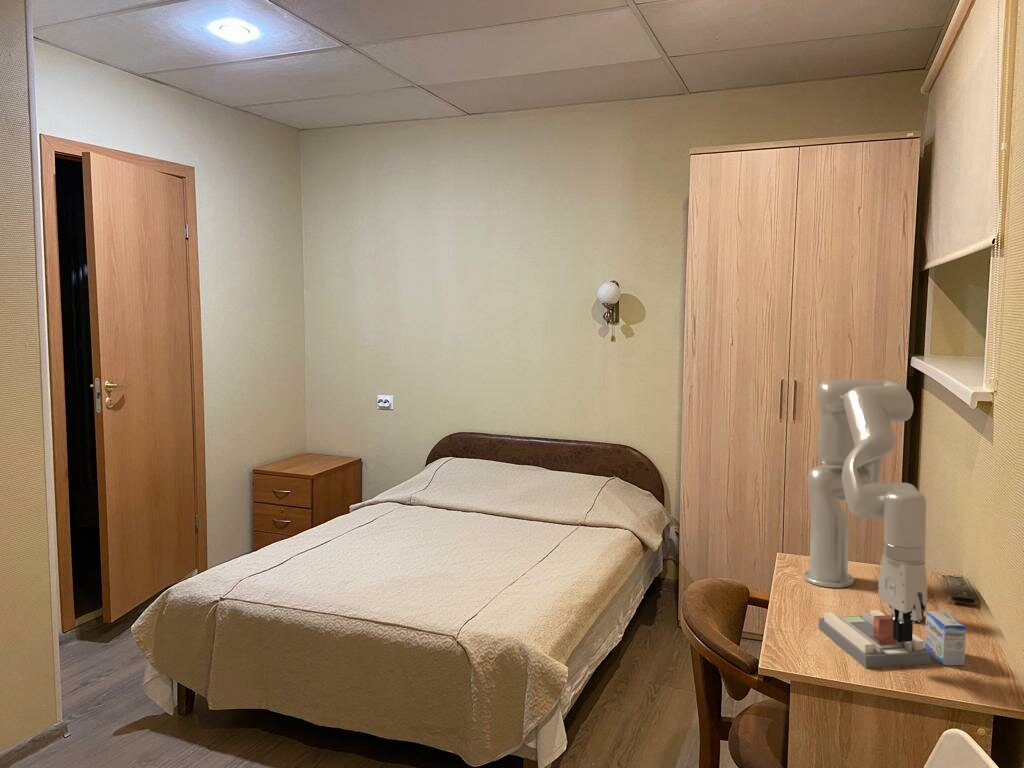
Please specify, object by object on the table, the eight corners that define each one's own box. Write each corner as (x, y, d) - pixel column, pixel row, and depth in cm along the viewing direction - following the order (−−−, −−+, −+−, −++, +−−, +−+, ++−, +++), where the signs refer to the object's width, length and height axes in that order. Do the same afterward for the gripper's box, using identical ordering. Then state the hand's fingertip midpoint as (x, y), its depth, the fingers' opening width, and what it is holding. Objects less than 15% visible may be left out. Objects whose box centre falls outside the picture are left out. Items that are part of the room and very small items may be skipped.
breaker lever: (867, 638, 165) (867, 613, 165) (889, 637, 166) (889, 612, 165) (880, 648, 160) (880, 622, 160) (902, 647, 161) (903, 621, 160)
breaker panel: (818, 628, 178) (818, 610, 177) (876, 625, 179) (876, 607, 179) (865, 668, 158) (866, 648, 157) (930, 663, 159) (930, 643, 159)
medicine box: (923, 649, 166) (925, 610, 165) (945, 649, 166) (946, 610, 165) (943, 666, 158) (944, 625, 157) (965, 666, 158) (966, 625, 157)
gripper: (866, 542, 162) (864, 627, 164) (908, 564, 147) (907, 656, 149) (899, 540, 163) (898, 625, 164) (945, 562, 148) (943, 654, 149)
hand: (902, 639), depth 157 cm, fingers closed
